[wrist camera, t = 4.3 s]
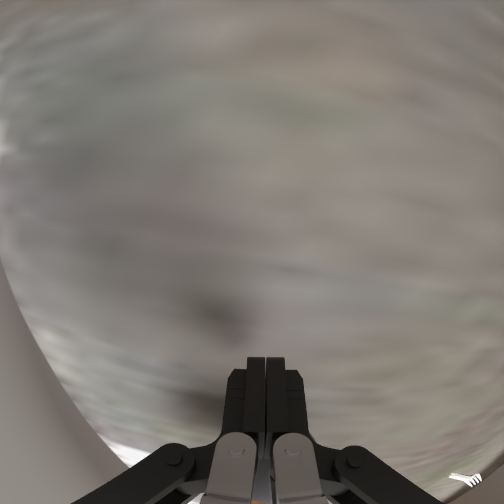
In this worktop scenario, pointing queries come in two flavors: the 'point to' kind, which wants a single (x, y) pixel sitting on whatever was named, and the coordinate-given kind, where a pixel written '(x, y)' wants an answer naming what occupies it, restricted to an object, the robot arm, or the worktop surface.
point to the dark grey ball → (263, 481)
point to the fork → (465, 478)
